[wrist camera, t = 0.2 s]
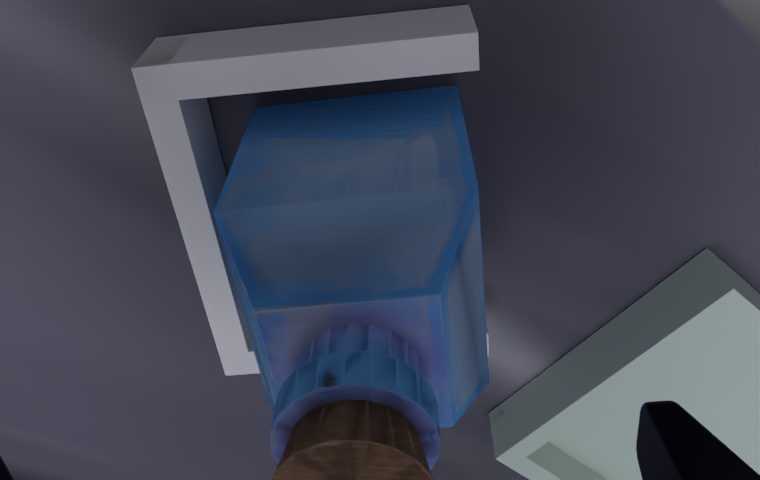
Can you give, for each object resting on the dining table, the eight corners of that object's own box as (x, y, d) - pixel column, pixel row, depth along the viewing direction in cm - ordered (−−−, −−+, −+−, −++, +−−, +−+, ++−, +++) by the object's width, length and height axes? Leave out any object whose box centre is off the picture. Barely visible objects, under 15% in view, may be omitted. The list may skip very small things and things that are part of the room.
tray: (940, 451, 30) (977, 498, 28) (726, 564, 35) (746, 611, 33) (706, 247, 25) (733, 288, 23) (488, 413, 29) (495, 459, 27)
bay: (481, 309, 26) (489, 356, 24) (238, 328, 27) (225, 375, 25) (469, 4, 20) (478, 32, 18) (156, 37, 21) (130, 68, 19)
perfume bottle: (292, 270, 26) (230, 599, 16) (254, 107, 22) (143, 393, 12) (468, 254, 25) (521, 581, 15) (457, 84, 22) (515, 361, 12)
